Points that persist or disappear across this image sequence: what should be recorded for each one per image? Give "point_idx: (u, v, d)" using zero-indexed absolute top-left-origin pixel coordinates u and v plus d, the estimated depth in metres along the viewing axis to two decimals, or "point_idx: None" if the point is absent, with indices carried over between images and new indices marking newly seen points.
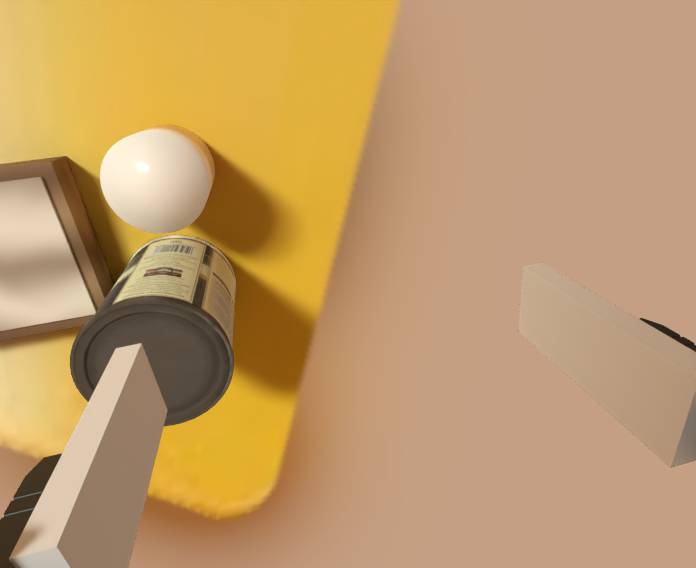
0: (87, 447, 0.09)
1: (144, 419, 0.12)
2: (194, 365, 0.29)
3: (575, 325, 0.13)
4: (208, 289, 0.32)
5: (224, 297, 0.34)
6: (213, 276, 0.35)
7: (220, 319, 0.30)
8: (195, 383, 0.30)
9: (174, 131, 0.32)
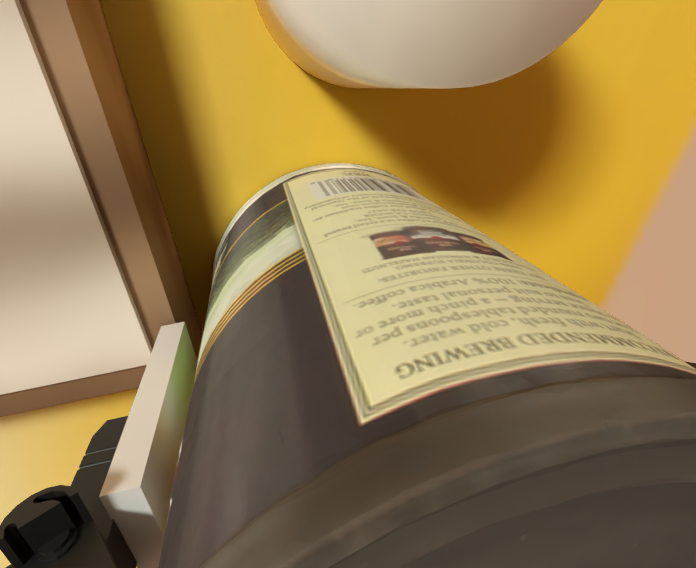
0: (151, 408, 0.10)
1: (190, 391, 0.13)
2: None
3: None
4: None
5: None
6: None
7: None
8: None
9: None
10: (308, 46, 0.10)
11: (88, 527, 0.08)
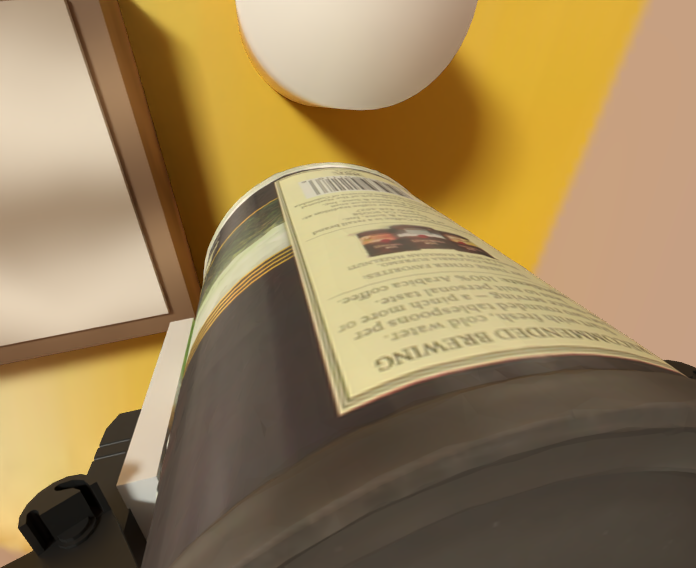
0: (164, 401, 0.10)
1: None
2: None
3: None
4: None
5: None
6: None
7: None
8: None
9: None
10: (277, 81, 0.15)
11: (106, 516, 0.08)
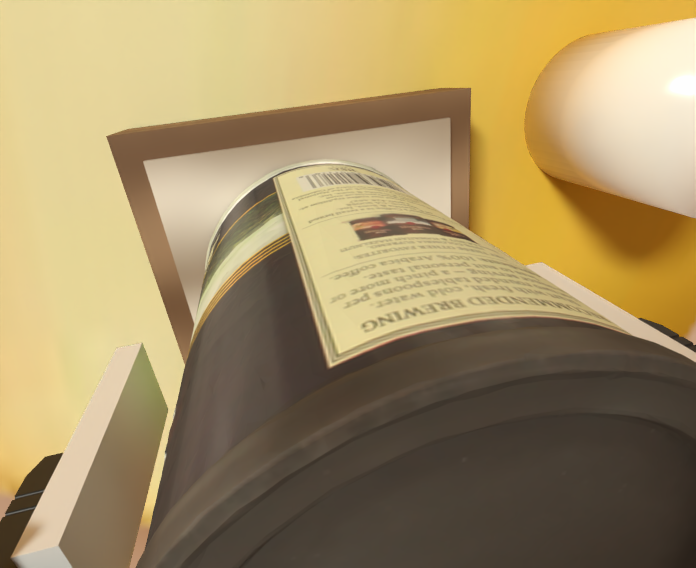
0: (88, 446, 0.09)
1: (145, 418, 0.12)
2: None
3: None
4: None
5: None
6: None
7: None
8: None
9: None
10: (608, 183, 0.18)
11: None
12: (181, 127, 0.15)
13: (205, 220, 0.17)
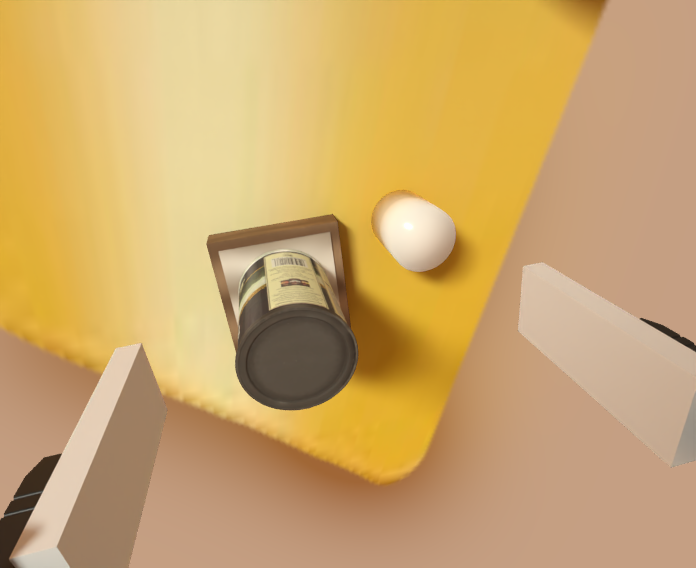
0: (87, 447, 0.09)
1: (144, 419, 0.12)
2: (327, 359, 0.36)
3: (575, 325, 0.13)
4: (330, 296, 0.39)
5: None
6: (326, 285, 0.41)
7: (346, 322, 0.37)
8: (326, 374, 0.37)
9: (424, 199, 0.46)
10: None
11: None
12: (231, 240, 0.44)
13: (239, 271, 0.46)
